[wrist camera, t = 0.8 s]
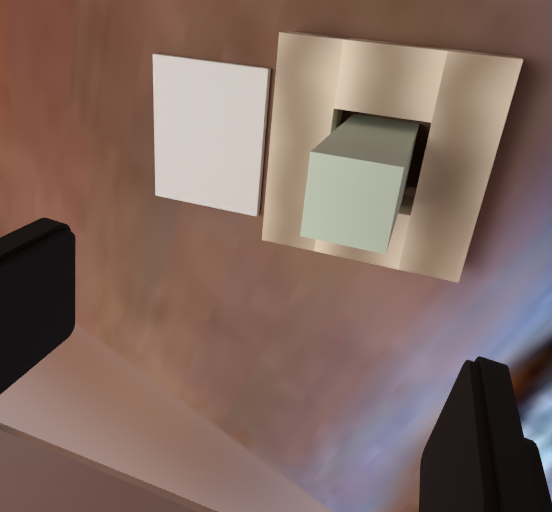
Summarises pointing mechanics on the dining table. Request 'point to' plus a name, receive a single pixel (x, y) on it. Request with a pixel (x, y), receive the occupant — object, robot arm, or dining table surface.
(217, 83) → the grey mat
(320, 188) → the sage block
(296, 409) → the dining table surface
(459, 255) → the square hole frame
